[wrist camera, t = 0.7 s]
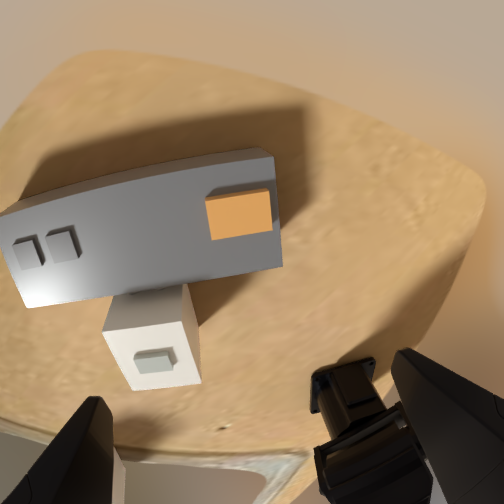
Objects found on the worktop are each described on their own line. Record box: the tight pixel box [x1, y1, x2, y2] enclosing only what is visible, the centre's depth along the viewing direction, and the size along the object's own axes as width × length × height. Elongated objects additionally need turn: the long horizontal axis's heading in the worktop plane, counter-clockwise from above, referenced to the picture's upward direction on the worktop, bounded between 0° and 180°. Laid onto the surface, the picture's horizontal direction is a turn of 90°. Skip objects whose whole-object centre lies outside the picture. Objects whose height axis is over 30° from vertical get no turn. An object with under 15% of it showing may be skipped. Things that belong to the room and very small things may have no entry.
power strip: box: [0, 147, 283, 308], centre depth 16 cm, size 6×16×4 cm, turn 96°
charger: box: [102, 284, 202, 391], centre depth 18 cm, size 8×4×6 cm, turn 6°
